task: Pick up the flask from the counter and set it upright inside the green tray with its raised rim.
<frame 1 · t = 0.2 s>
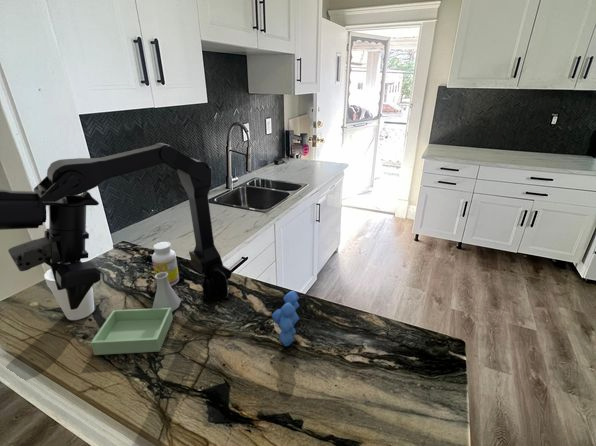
hand: (67, 298, 64), 15 cm above the counter, tool pointing down, fingers open, 9 cm apart
grapes: (285, 337, 77), on the counter
green tray: (136, 335, 76), on the counter
foam cup: (80, 312, 84), on the counter
supplement bottle: (168, 282, 97), on the counter
flask: (167, 306, 87), on the counter
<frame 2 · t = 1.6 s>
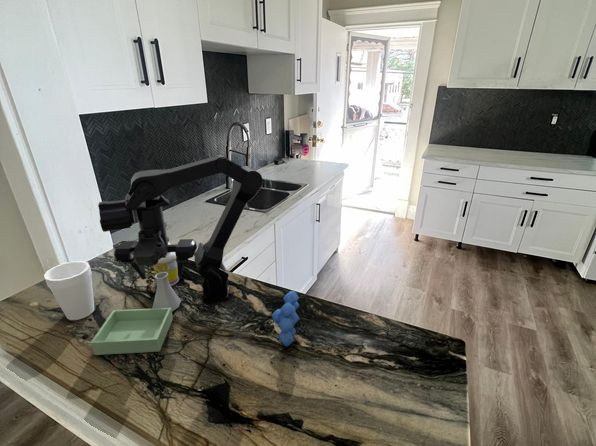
hand: (162, 277, 83), 9 cm above the counter, tool pointing down, fingers open, 9 cm apart
nothing on the counter moved.
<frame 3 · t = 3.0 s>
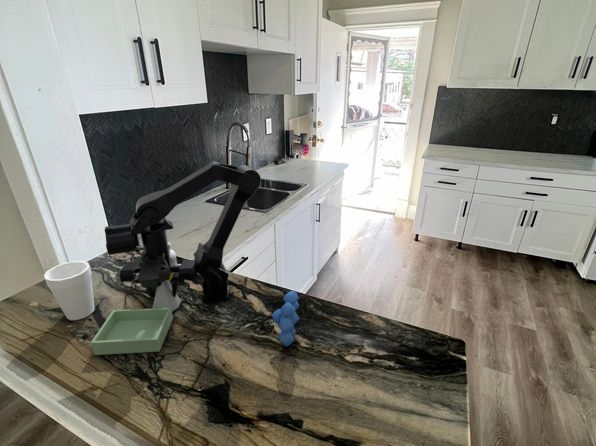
hand: (165, 297, 85), 3 cm above the counter, tool pointing down, fingers closed on flask, 5 cm apart
flask: (167, 306, 87), on the counter, touching gripper
everything else where it was.
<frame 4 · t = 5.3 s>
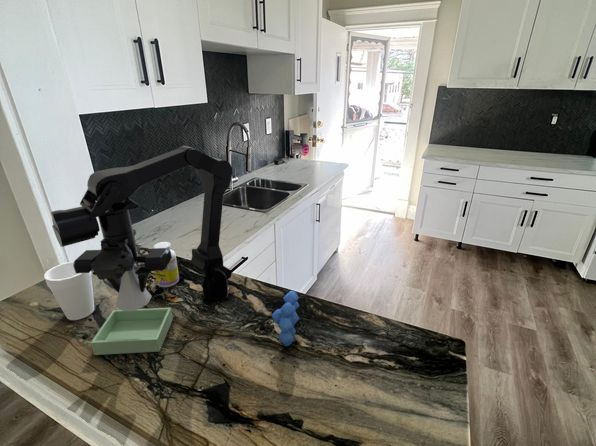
hand: (131, 291, 73), 12 cm above the counter, tool pointing down, fingers closed on flask, 5 cm apart
flask: (134, 303, 74), point 8 cm above the counter, touching gripper
everything else where it was.
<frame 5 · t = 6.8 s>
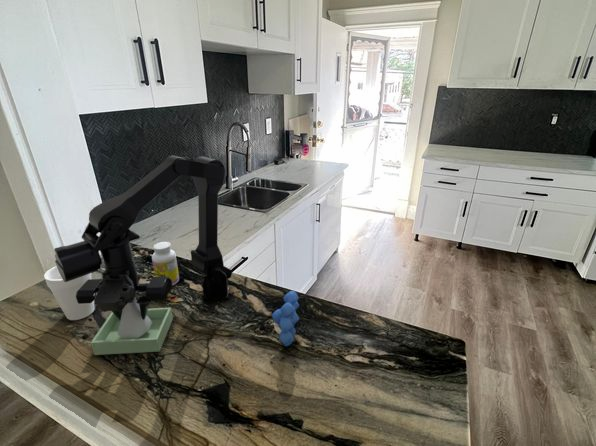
hand: (133, 319, 74), 5 cm above the counter, tool pointing down, fingers closed on flask, 5 cm apart
flask: (135, 329, 76), point 2 cm above the counter, touching gripper
everything else where it was.
when the fingers open (4 cm above the counter, at t = 7.6 s): flask stays where it is, resting on green tray.
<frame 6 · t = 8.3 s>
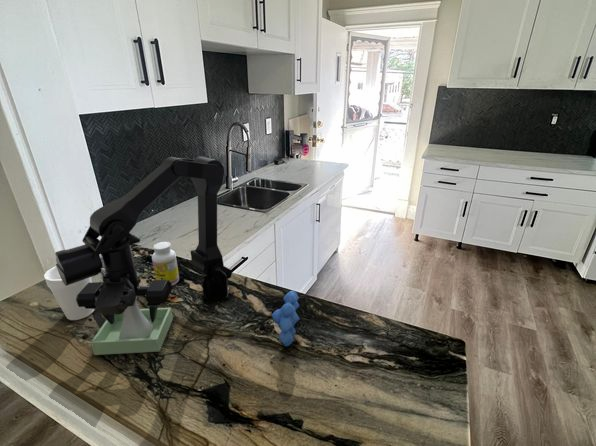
hand: (133, 322, 74), 4 cm above the counter, tool pointing down, fingers open, 9 cm apart
flask: (136, 333, 76), resting on green tray
everything else where it was.
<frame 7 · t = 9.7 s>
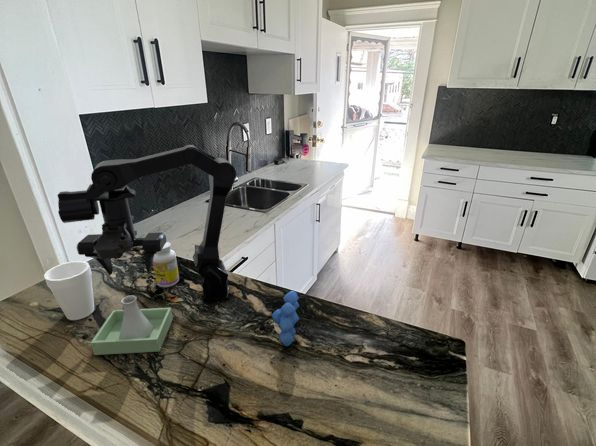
hand: (130, 273, 80), 12 cm above the counter, tool pointing down, fingers open, 9 cm apart
nothing on the counter moved.
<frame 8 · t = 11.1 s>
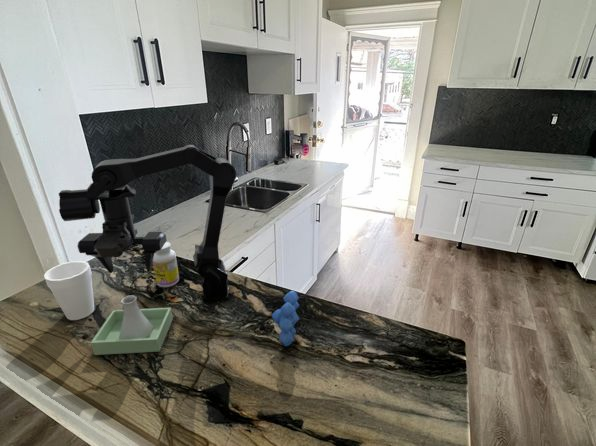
hand: (130, 271, 80), 12 cm above the counter, tool pointing down, fingers open, 9 cm apart
nothing on the counter moved.
at the end: flask inside the target area in the green tray (0.1 cm from its centre), point 0.4 cm above the green tray's base; flask tilted 0°; the gripper is holding nothing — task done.
